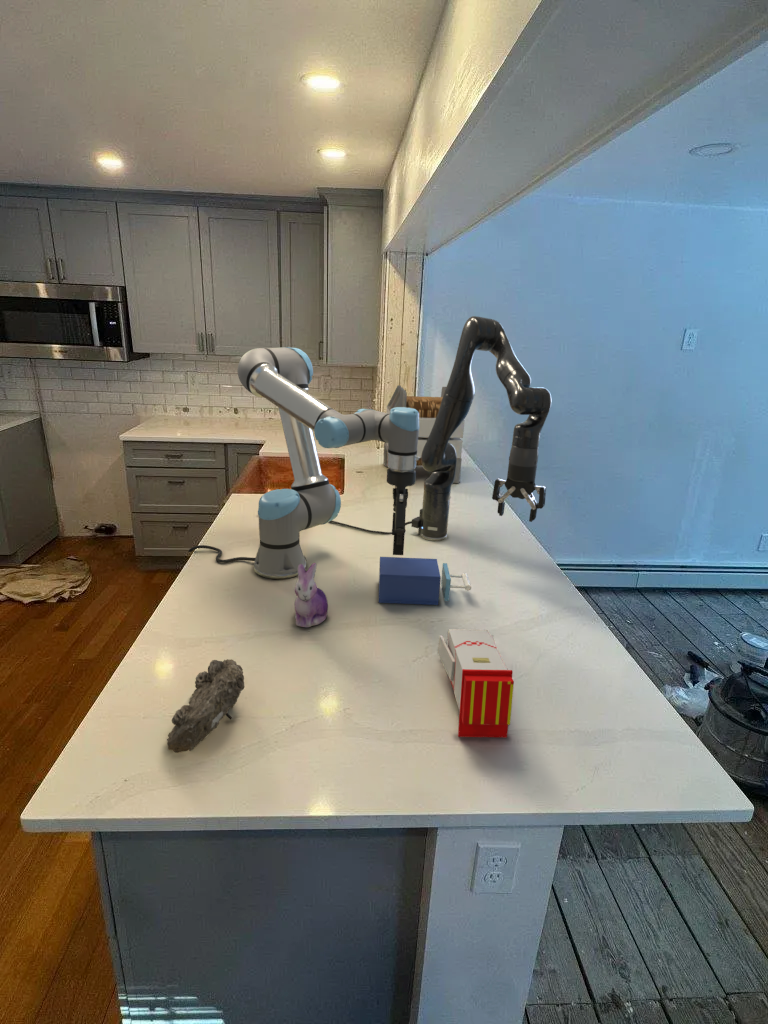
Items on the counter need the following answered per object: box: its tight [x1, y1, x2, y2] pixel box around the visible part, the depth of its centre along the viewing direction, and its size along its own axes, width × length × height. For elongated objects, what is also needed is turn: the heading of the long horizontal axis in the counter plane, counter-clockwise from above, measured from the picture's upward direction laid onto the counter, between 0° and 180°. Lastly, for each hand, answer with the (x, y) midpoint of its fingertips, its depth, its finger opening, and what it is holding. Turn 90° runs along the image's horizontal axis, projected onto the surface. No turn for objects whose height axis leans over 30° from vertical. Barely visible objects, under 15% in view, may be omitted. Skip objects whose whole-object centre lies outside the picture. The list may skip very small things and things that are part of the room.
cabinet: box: [378, 556, 442, 606], centre depth 157 cm, size 16×11×8 cm
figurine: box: [293, 562, 329, 628], centre depth 140 cm, size 9×10×15 cm
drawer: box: [439, 562, 472, 602], centre depth 157 cm, size 21×10×7 cm, turn 90°
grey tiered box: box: [383, 384, 465, 484], centre depth 268 cm, size 34×33×41 cm
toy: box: [437, 628, 515, 738], centre depth 117 cm, size 12×13×30 cm
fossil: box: [166, 658, 245, 754], centre depth 106 cm, size 22×10×15 cm
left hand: (397, 544), depth 154 cm, fingers open, 13 cm apart
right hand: (515, 518), depth 159 cm, fingers open, 8 cm apart
